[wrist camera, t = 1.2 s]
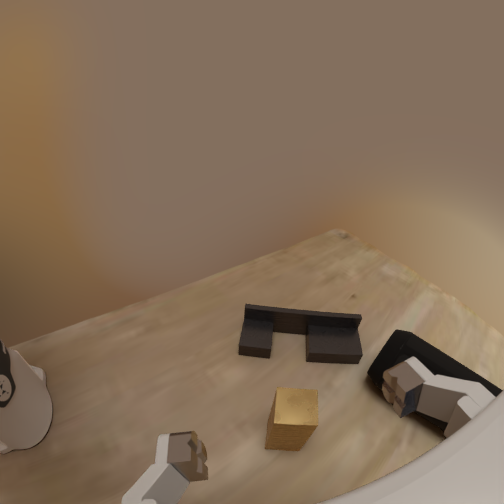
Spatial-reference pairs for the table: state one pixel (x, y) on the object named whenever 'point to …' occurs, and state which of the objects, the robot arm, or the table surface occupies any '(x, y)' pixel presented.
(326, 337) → the rail
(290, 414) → the wooden block
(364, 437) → the table surface
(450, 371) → the portable speaker
